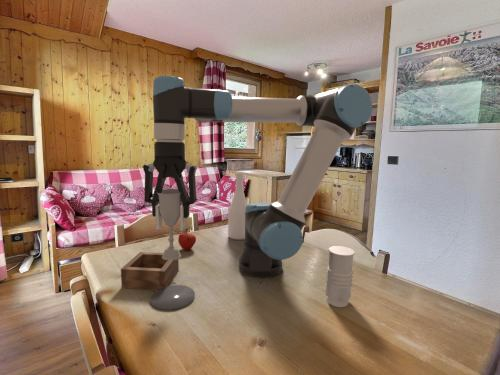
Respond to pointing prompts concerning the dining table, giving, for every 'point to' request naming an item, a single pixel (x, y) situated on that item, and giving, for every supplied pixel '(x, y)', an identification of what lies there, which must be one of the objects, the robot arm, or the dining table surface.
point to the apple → (186, 240)
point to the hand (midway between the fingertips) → (171, 228)
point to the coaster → (172, 297)
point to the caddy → (148, 272)
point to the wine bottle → (237, 211)
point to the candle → (339, 275)
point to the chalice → (170, 218)
